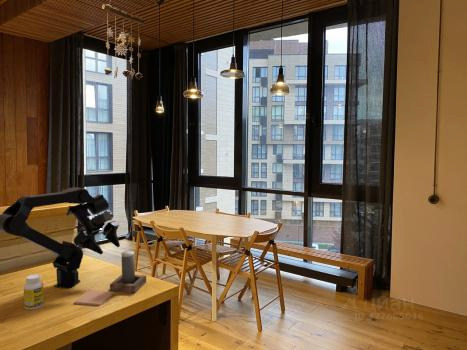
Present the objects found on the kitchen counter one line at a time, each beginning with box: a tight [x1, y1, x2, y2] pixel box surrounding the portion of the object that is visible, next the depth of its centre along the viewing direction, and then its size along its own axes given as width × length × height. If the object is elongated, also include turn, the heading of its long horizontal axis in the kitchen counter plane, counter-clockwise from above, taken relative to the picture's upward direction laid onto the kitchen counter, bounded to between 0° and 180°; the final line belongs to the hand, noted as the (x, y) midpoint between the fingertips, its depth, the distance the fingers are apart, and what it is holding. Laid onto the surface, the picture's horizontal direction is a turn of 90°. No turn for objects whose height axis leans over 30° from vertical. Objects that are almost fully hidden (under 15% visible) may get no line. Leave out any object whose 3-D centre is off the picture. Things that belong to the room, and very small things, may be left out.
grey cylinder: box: [121, 250, 136, 284], centre depth 126 cm, size 4×4×13 cm
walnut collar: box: [109, 274, 147, 294], centre depth 126 cm, size 10×10×2 cm
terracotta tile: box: [73, 289, 115, 307], centre depth 116 cm, size 9×9×1 cm
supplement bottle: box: [23, 273, 45, 310], centre depth 110 cm, size 5×5×10 cm
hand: (110, 250), depth 128 cm, fingers open, 9 cm apart
